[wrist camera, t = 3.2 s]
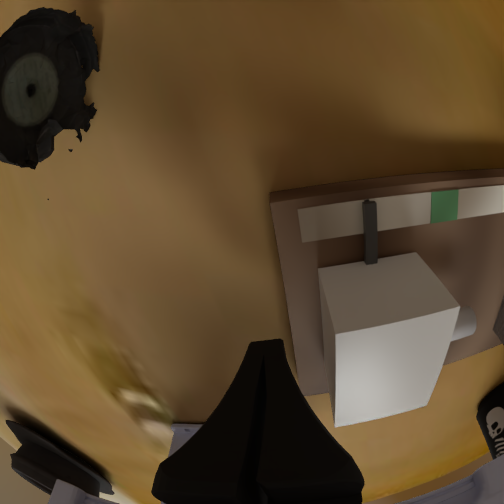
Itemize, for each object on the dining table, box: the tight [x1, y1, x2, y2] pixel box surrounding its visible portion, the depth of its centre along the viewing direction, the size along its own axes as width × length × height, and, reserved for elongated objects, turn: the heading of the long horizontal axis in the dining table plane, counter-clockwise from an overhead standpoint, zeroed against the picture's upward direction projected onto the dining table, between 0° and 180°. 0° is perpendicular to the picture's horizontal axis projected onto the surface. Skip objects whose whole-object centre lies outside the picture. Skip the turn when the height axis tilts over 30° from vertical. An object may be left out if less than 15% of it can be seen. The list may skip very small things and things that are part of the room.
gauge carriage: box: [318, 201, 477, 427], centre depth 11 cm, size 7×9×4 cm
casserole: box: [6, 420, 114, 497], centre depth 29 cm, size 25×19×8 cm
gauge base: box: [269, 169, 504, 396], centre depth 13 cm, size 18×12×2 cm, turn 101°
